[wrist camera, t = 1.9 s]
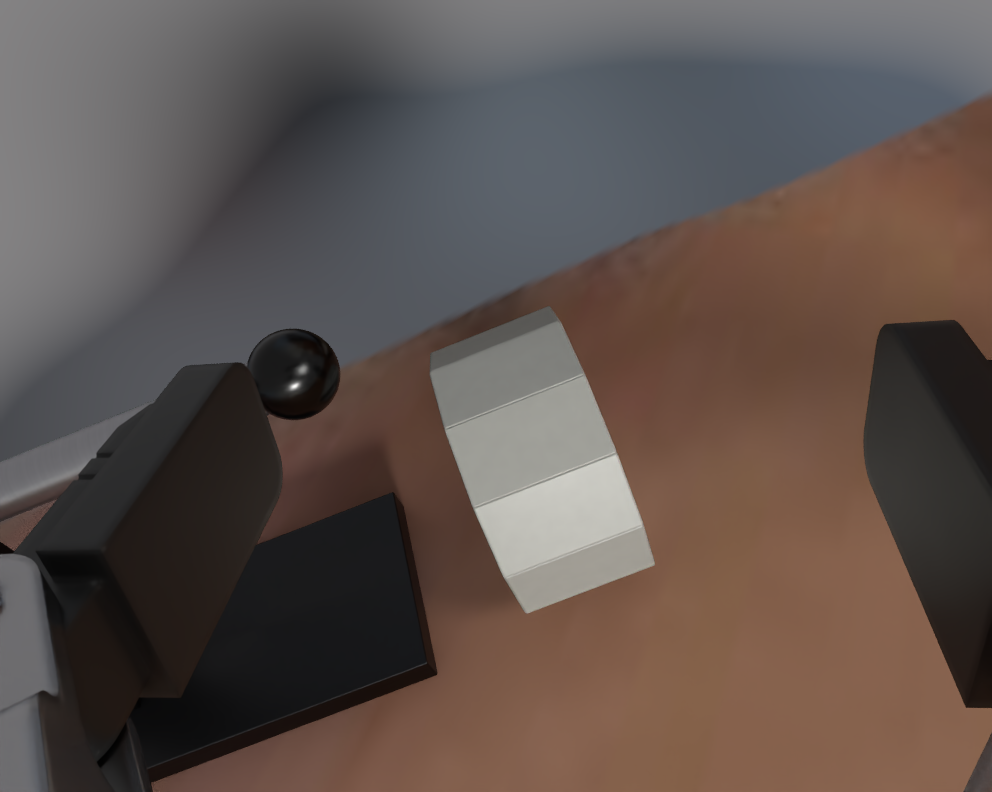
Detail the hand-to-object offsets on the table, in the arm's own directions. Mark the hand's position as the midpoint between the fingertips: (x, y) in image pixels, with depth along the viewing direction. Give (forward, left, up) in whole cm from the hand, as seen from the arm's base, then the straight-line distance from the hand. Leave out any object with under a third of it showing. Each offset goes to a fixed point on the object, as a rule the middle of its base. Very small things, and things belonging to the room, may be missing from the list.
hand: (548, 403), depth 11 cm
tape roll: (-1, -11, -20) cm, 23 cm away
